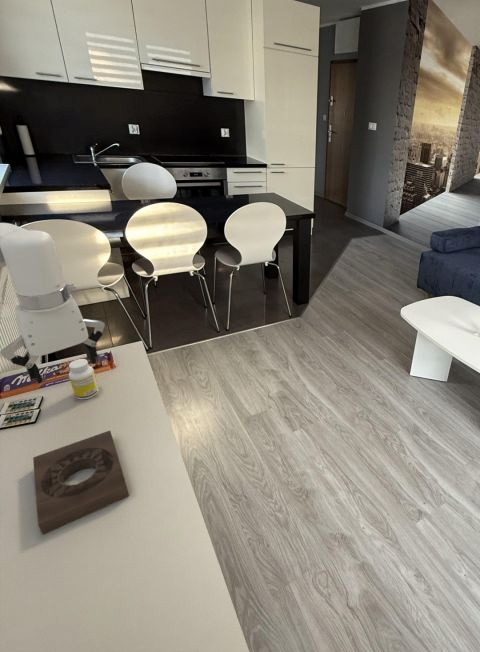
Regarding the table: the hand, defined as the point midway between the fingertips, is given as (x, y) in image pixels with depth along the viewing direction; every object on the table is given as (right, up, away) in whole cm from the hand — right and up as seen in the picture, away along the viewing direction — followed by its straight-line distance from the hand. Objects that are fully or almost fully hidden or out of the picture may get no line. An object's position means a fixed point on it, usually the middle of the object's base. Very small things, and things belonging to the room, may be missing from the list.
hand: (66, 370), depth 83 cm
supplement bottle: (-11, -10, +22) cm, 27 cm away
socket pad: (+4, -23, -1) cm, 23 cm away
